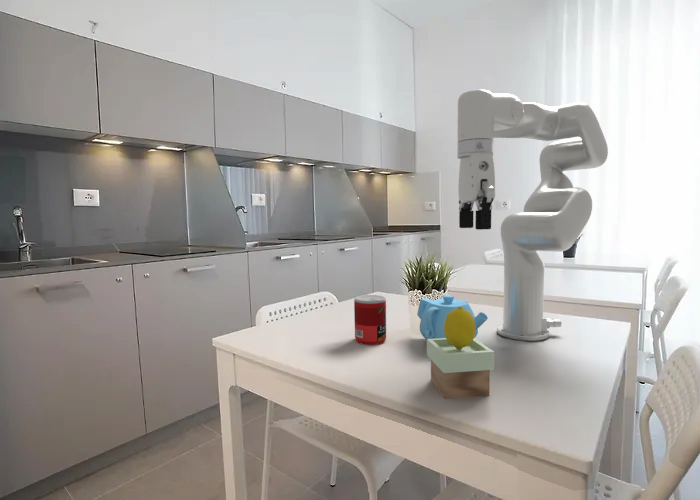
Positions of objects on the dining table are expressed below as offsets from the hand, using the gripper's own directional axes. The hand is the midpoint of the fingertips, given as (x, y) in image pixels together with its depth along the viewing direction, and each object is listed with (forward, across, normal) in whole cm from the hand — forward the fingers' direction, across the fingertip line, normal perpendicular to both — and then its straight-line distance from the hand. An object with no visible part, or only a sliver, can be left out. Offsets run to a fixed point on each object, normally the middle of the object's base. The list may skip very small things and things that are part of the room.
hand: (474, 228), depth 92 cm
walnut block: (+28, -18, +10) cm, 35 cm away
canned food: (+28, +12, +22) cm, 38 cm away
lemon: (+22, -18, +10) cm, 30 cm away
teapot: (+29, +7, +3) cm, 30 cm away
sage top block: (+24, -18, +10) cm, 31 cm away
